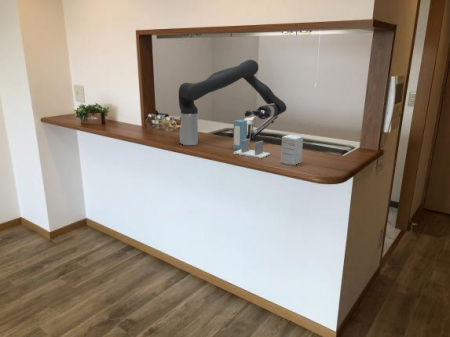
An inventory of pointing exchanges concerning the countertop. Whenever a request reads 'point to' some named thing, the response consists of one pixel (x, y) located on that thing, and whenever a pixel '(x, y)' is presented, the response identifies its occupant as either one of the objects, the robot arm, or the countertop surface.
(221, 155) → the countertop surface
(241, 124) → the book
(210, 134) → the countertop surface
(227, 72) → the robot arm
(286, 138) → the supplement box
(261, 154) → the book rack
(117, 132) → the countertop surface
